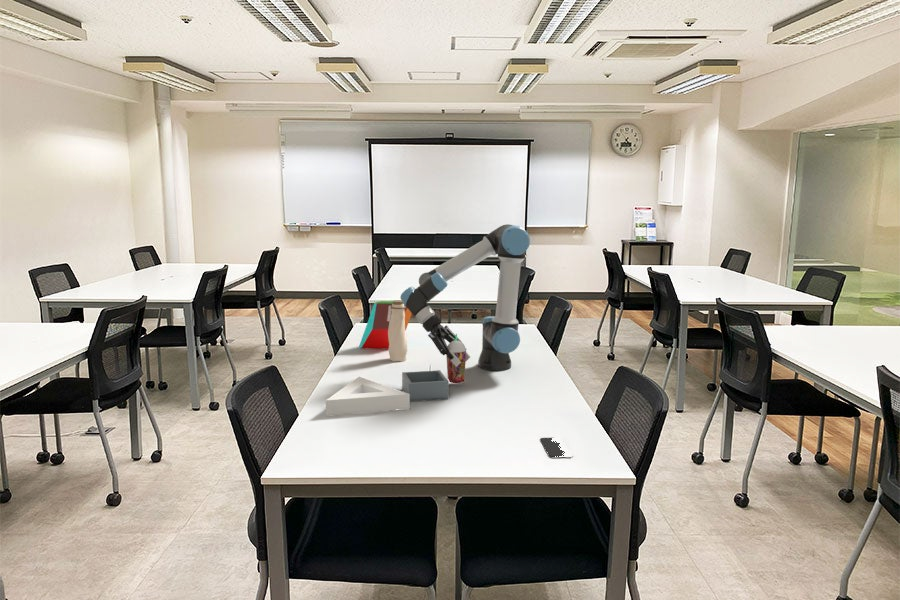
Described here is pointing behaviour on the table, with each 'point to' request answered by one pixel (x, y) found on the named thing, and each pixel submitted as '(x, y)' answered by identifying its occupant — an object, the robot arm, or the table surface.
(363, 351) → the table surface
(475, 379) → the table surface
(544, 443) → the phone
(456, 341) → the smoothie
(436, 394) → the tray
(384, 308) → the gem
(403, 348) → the water bottle
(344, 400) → the triangle block
